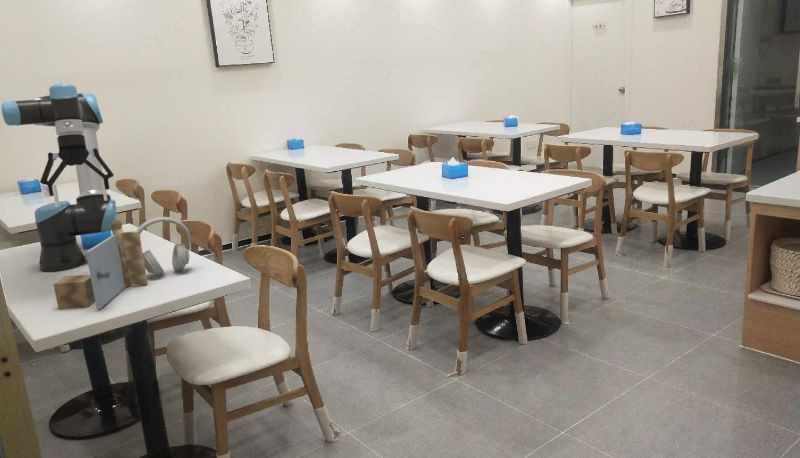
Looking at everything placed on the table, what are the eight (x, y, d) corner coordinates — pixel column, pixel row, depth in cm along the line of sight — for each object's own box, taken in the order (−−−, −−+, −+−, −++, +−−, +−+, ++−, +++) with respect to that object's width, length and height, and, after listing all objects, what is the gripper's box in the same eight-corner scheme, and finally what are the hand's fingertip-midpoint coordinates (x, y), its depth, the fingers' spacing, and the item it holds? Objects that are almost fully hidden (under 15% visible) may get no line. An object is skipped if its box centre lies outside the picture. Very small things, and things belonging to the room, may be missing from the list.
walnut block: (58, 309, 182) (53, 284, 180) (69, 300, 188) (64, 276, 186) (89, 307, 182) (84, 281, 180) (99, 298, 189) (94, 274, 187)
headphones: (140, 283, 201) (130, 224, 196) (136, 276, 209) (126, 219, 204) (198, 271, 210) (189, 215, 205) (192, 265, 218) (184, 210, 213)
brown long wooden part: (119, 288, 197) (107, 221, 192) (123, 284, 201) (112, 219, 195) (145, 286, 198) (134, 220, 192) (148, 282, 201) (138, 217, 195)
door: (96, 309, 178) (85, 251, 174) (122, 286, 197) (113, 234, 193) (109, 308, 178) (99, 251, 174) (134, 285, 197) (125, 233, 193)
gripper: (21, 137, 180) (34, 208, 182) (113, 129, 189) (124, 197, 191) (27, 140, 187) (39, 209, 189) (115, 133, 196) (126, 198, 198)
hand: (82, 203), depth 190 cm, fingers open, 13 cm apart
